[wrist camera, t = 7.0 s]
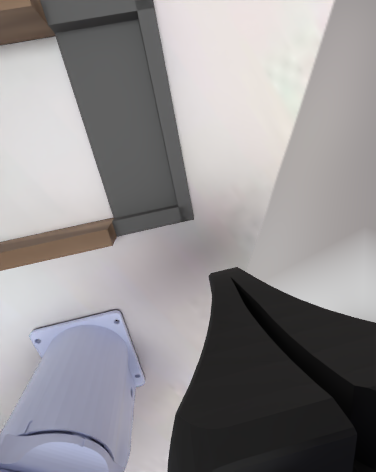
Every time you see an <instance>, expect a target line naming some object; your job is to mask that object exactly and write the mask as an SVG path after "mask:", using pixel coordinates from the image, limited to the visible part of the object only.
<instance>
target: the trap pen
mask: <svg viewBox="0 0 376 472" xmlns="http://www.w3.org/2000/svg"><path fill="white" fill-rule="evenodd" d="M40 2H41V5H42V8H43V11H44V14H45V18H46V21H47V24H48V26H49V27H50V28H51V29H52V31H53V32H54V33H55V36H56V39H57V42H58V45H59V48H60V51H61V55H62V58H63V61H64V64H65V67H66V70H67V73H68V76H69V79H70V83H71V86H72V89H73V92H74V95H75V98H76V101H77V104H78V108H79V111H80V114H81V117H82V120H83V123H84V126H85V129H86V133H87V136H88V139H89V142H90V145H91V148H92V151H93V154H94V158H95V161H96V164H97V167H98V170H99V173H100V176H101V179H102V183H103V186H104V189H105V192H106V195H107V198H108V201H109V204H110V208H111V211H112V214H113V217H114V219H113V221H112V223H113V227H114V230H115V233H116V236H122V235H126V234H131V233H135V232H140V231H144V230H148V229H153V228H157V227H162V226H166V225H171V224H175V223H180V222H184V221H189V220H193V219H194V216H193V211H192V206H191V200H190V195H189V190H188V184H187V179H186V174H185V168H184V163H183V158H182V152H181V147H180V142H179V136H178V131H177V126H176V120H175V115H174V109H173V104H172V99H171V93H170V88H169V83H168V77H167V72H166V67H165V61H164V56H163V51H162V45H161V40H160V35H159V29H158V24H157V19H156V13H155V8H154V3H153V0H40Z"/></svg>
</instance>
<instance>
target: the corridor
mask: <svg viewBox="0 0 376 472" xmlns="http://www.w3.org/2000/svg"><path fill="white" fill-rule="evenodd" d="M52 36H55V33H54V32H53V31H52V29H51V28H50V27H49V26H48V24H47V21H46V18H45V14H44V11H43V8H42V5H41V2H40V0H0V45H4V44H10V43H16V42H22V41H28V40H34V39H40V38H46V37H52ZM113 219H114V218H110V219H105V220H100V221H96V222H91V223H87V224H82V225H77V226H73V227H68V228H64V229H59V230H54V231H50V232H45V233H41V234H36V235H31V236H27V237H22V238H18V239H13V240H8V241H4V242H0V271H2V270H6V269H11V268H15V267H20V266H24V265H28V264H33V263H37V262H42V261H46V260H51V259H55V258H60V257H64V256H68V255H73V254H77V253H82V252H86V251H91V250H95V249H100V248H104V247H108V246H113V244H114V241H115V239H116V237H117V236H116V233H115V230H114V227H113V223H112V221H113Z"/></svg>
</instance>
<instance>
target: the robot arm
mask: <svg viewBox="0 0 376 472" xmlns="http://www.w3.org/2000/svg"><path fill="white" fill-rule="evenodd" d="M209 281H210V286H211V292H212V306H211V316H210V322H209V327H208V332H207V336H206V340H205V343H204V347H203V350H202V353H201V356H200V359H199V362H198V365H197V367H196V370H195V372H194V375H193V378H192V380H191V382H190V385H189V387H188V389H187V391H186V393H185V395H184V397H183V400H182V402H181V404H180V406H179V408H178V410H177V412H176V415H175V420H174V426H173V431H172V437H171V444H170V450H169V459H168V472H376V323H374V322H370V321H366V320H362V319H358V318H354V317H351V316H347V315H344V314H341V313H337V312H334V311H330V310H328V309H324V308H321V307H319V306H316V305H313V304H311V303H308V302H305V301H303V300H300V299H297V298H295V297H293V296H291V295H288V294H286V293H284V292H282V291H280V290H278V289H276V288H274V287H271V286H270V285H268V284H266V283H264V282H262V281H261V280H259V279H257V278H255V277H253V276H252V275H250V274H248V273H247V272H245V271H243V270H241V269H240V268H238V267H235V268H231V269H227V270H223V271H219V272H214V273H211V274H210V275H209ZM115 320H119V321H115ZM29 337H30V339H31V341H32V343H33V344H34V346H35V348H36V350H37V351H38V353H39V355H40V357H41V358H42V359H41V361H40V363H39V365H38V367H37V368H36V370H35V372H34V374H33V376H32V377H31V379H30V381H29V383H28V385H27V386H26V388H25V390H24V392H23V394H22V396H21V397H20V399H19V401H18V403H17V405H16V406H15V408H14V410H13V412H12V414H11V415H10V417H9V419H8V421H7V423H6V425H5V426H4V428H3V430H2V432H1V434H0V472H124V470H125V468H126V465H127V462H128V459H129V455H130V447H131V435H132V423H133V411H134V400H135V388H136V387H139V386H142V385H144V383H145V377H144V375H143V372H142V369H141V366H140V364H139V361H138V358H137V356H136V353H135V350H134V347H133V345H132V342H131V339H130V336H129V334H128V331H127V328H126V326H125V323H124V320H123V317H122V315H121V313H120V312H119V311H117V310H114V311H110V312H106V313H102V314H98V315H93V316H89V317H85V318H81V319H77V320H73V321H69V322H65V323H60V324H56V325H52V326H48V327H44V328H40V329H36V330H33V331H32V332H31V333H30V335H29ZM38 339H40V340H38ZM137 374H138V375H137Z"/></svg>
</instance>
